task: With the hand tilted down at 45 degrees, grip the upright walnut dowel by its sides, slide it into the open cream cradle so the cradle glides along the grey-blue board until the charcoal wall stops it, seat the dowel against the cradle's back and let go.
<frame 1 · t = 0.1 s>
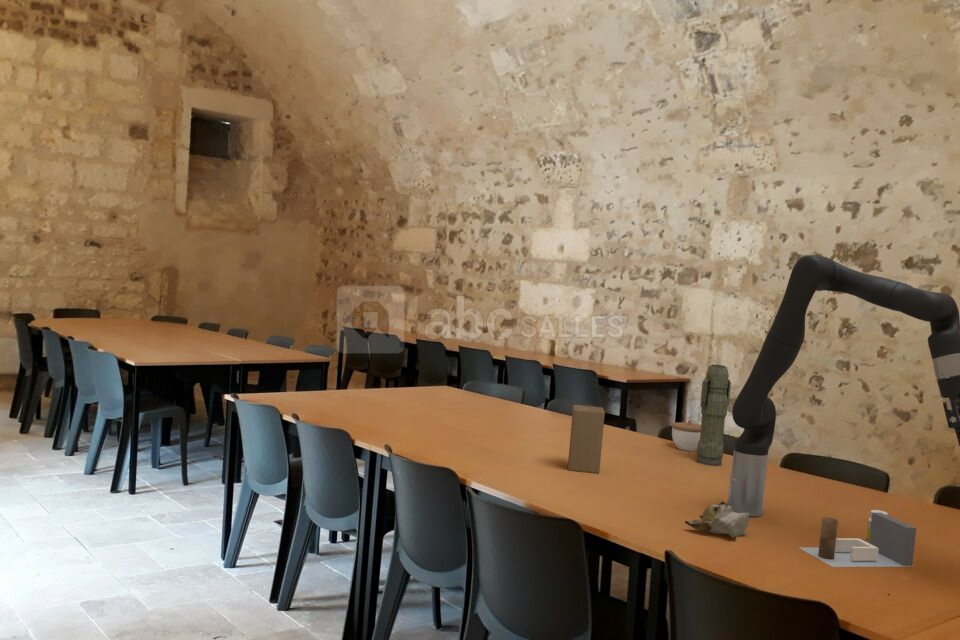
lidded bowl: (686, 449, 322), on the table
board with wall: (854, 561, 200), on the table
cradle: (855, 549, 200), point 3 cm above the table, slide at 0.0 cm
ceramic sculpture: (718, 534, 215), on the table
wooden block: (583, 469, 275), on the table
dowel: (826, 556, 198), point 1 cm above the table, touching board with wall
supplement bottle: (875, 544, 216), on the table
olive green tall piece: (709, 463, 300), on the table
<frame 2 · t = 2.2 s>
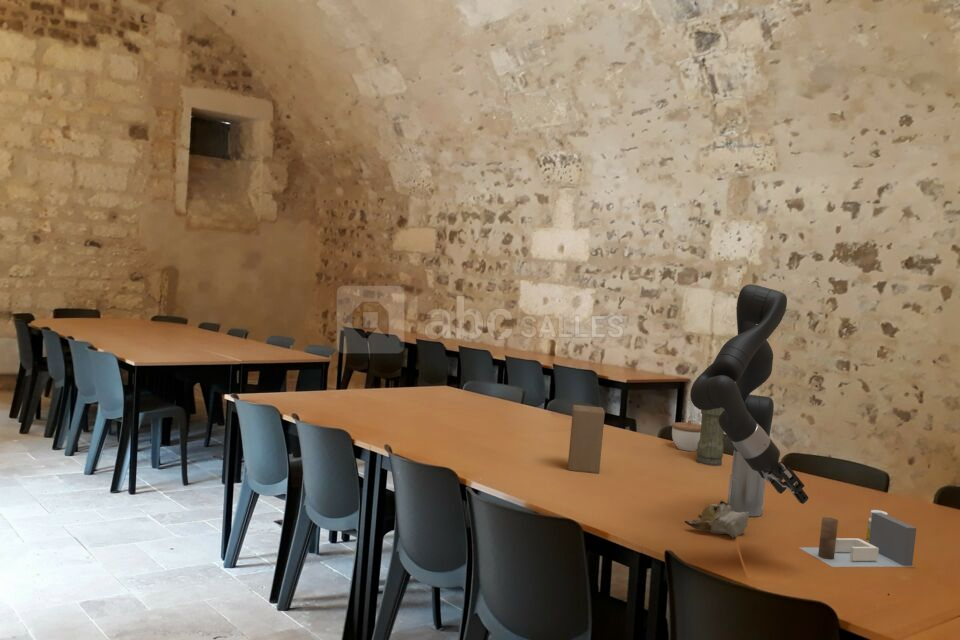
hand: (793, 495, 195), 16 cm above the table, fingers open, 8 cm apart
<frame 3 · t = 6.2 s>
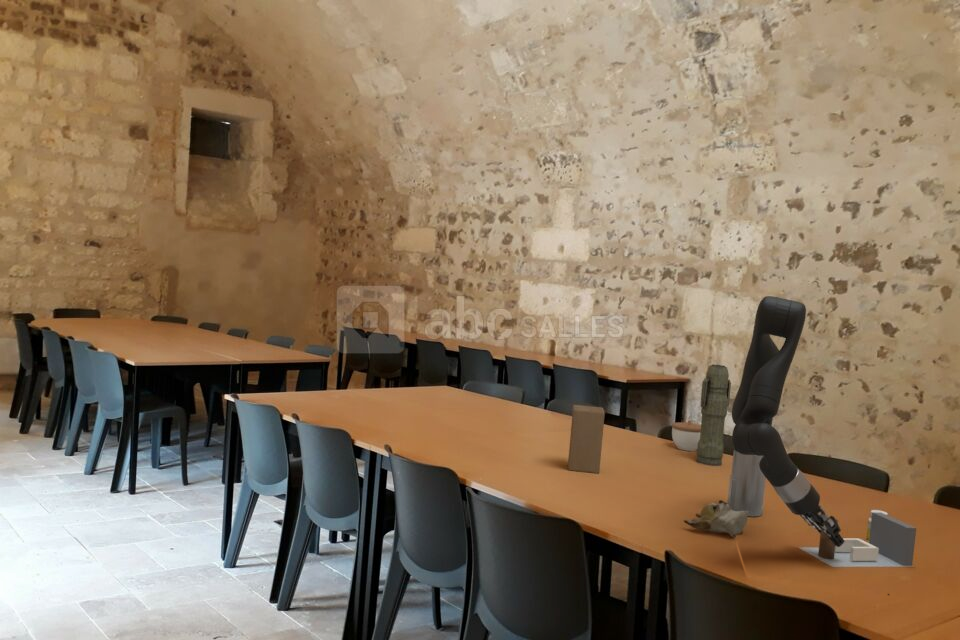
hand: (835, 541, 199), 5 cm above the table, fingers closed on dowel, 3 cm apart
dowel: (826, 556, 198), point 1 cm above the table, touching board with wall, gripper
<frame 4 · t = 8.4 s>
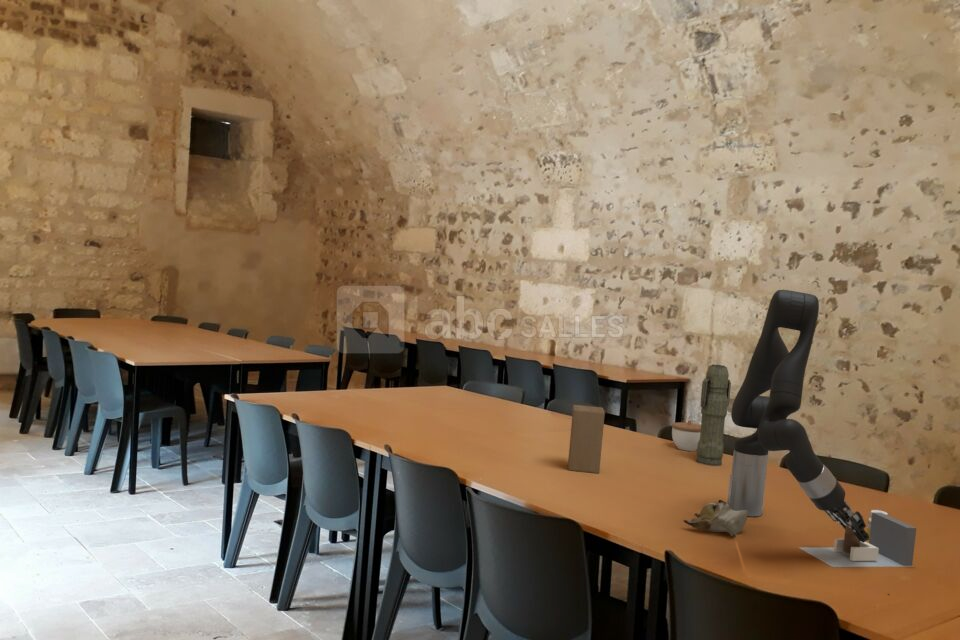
hand: (859, 536, 200), 6 cm above the table, fingers closed on dowel, 3 cm apart
dowel: (850, 552, 200), point 2 cm above the table, touching gripper
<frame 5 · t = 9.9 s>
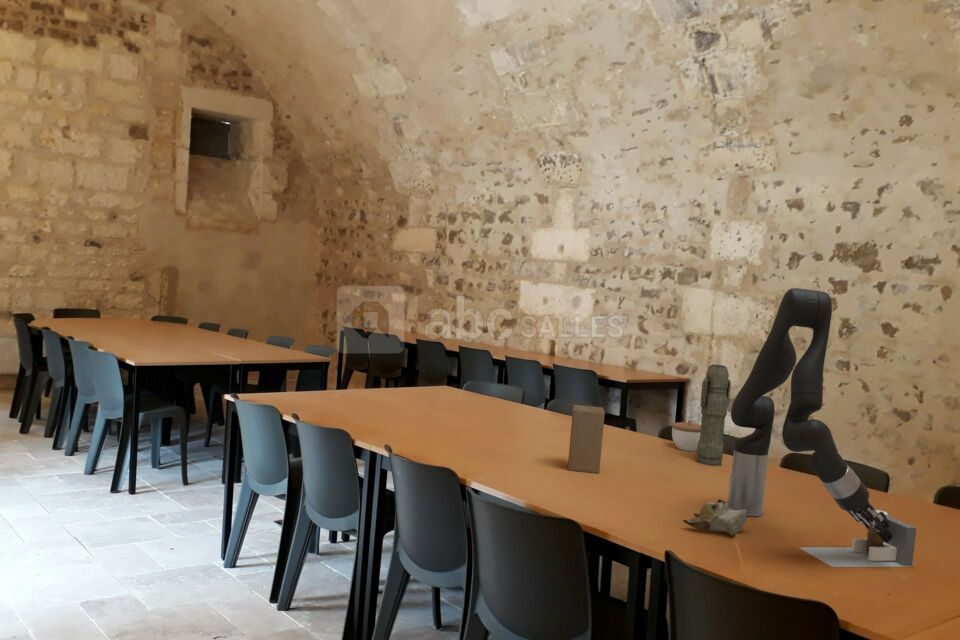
hand: (882, 536, 202), 6 cm above the table, fingers closed on dowel, 3 cm apart
cradle: (873, 549, 201), point 3 cm above the table, slide at 5.0 cm, touching dowel
dowel: (873, 552, 201), point 2 cm above the table, touching cradle, gripper
when the fingers open (6 cm above the table, at t = 11.0 s): dowel stays where it is, resting on board with wall.
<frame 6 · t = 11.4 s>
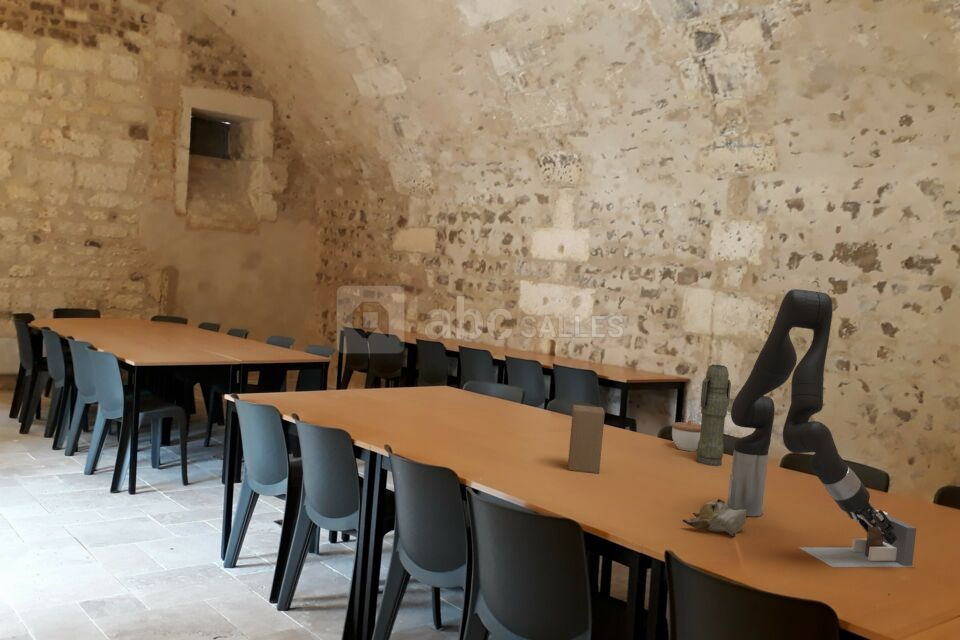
hand: (882, 536, 202), 6 cm above the table, fingers open, 7 cm apart
cradle: (873, 549, 201), point 3 cm above the table, slide at 5.0 cm, touching board with wall
dowel: (873, 556, 201), point 1 cm above the table, touching board with wall
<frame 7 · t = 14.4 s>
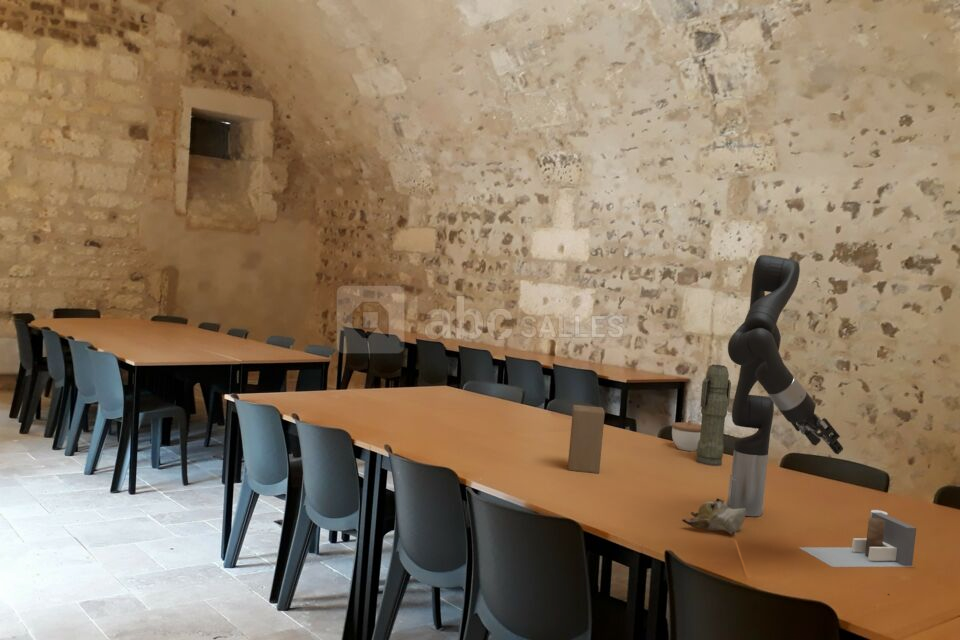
hand: (828, 447, 201), 27 cm above the table, fingers open, 8 cm apart
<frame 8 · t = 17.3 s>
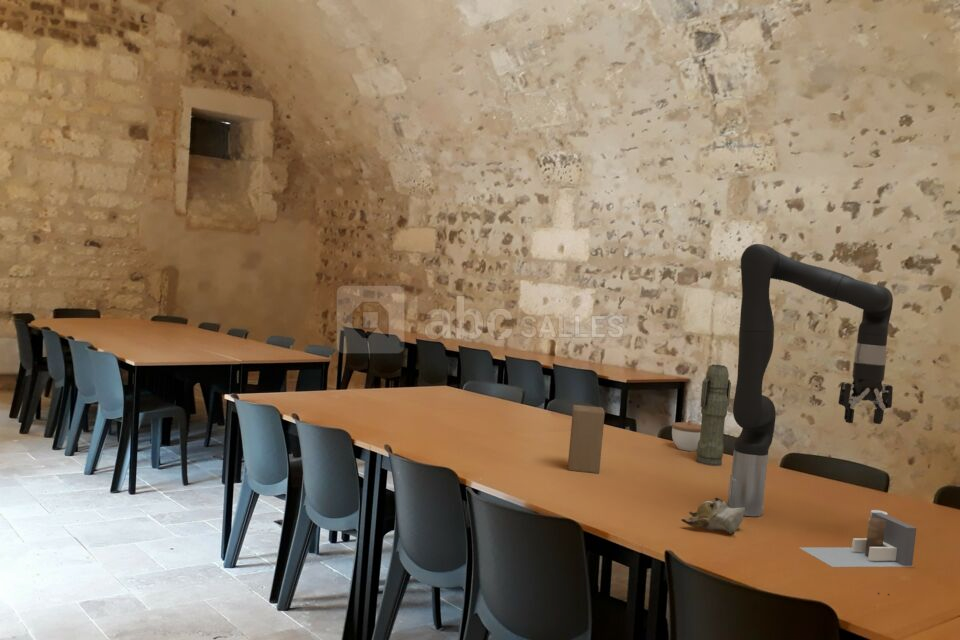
hand: (863, 423, 220), 30 cm above the table, fingers open, 8 cm apart
at the end: cradle slide at 5.0 cm; dowel inside the target area on the cradle (3.0 cm from its centre), point 1.2 cm above the cradle's base; dowel tilted 2° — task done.
